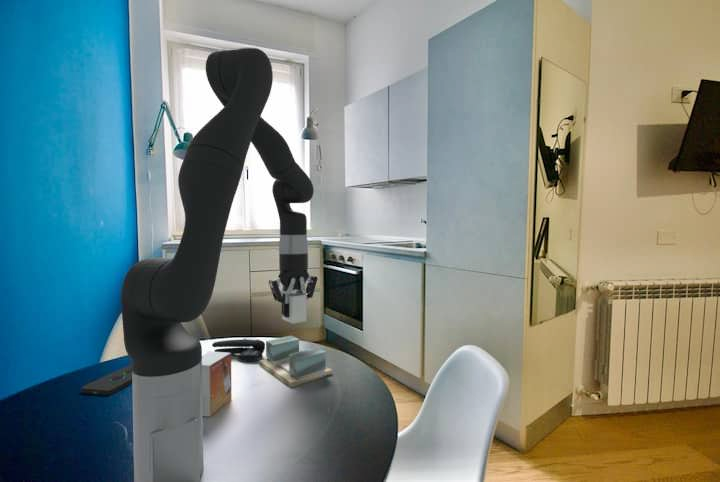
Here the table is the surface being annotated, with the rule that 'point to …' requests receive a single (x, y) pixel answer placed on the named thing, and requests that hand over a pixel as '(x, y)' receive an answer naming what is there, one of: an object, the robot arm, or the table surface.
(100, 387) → the smart home device
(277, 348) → the rail board
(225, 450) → the table surface
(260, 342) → the can opener
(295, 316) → the block
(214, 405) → the small box
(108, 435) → the table surface
